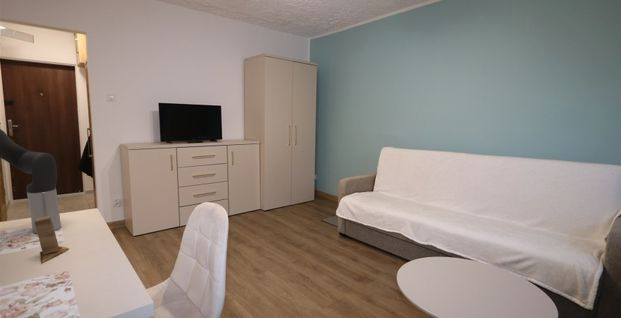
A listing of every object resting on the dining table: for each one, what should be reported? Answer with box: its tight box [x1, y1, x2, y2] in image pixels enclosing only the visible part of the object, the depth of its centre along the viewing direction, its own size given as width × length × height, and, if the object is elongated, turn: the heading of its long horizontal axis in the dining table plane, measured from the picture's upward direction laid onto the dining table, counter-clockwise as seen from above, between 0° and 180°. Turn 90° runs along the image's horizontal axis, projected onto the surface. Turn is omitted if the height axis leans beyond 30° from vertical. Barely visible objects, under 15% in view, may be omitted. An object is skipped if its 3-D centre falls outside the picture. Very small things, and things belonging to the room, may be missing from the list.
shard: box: [39, 245, 70, 264], centre depth 109 cm, size 11×8×2 cm
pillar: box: [35, 216, 60, 255], centre depth 108 cm, size 4×4×12 cm
